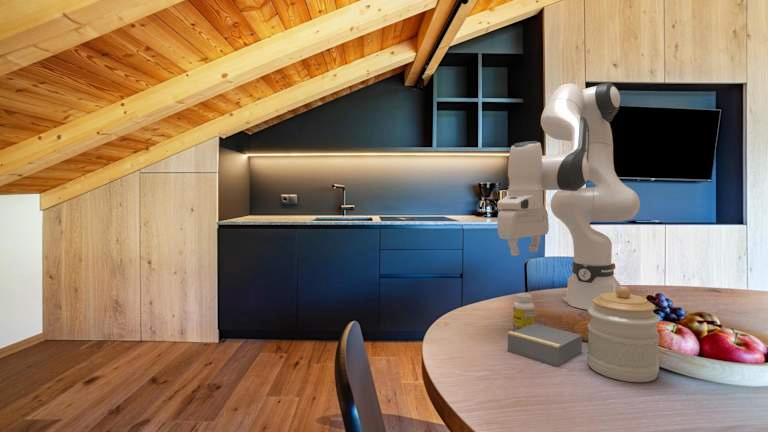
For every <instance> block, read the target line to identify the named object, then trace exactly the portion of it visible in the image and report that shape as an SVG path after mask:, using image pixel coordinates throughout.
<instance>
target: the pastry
mask: <svg viewBox="0 0 768 432" xmlns="http://www.w3.org/2000/svg"><path fill="white" fill-rule="evenodd" d="M589 323H590V320H587V319H586V320H585V321H582V322H578V323H576V325H575V326H574V327H573V328H572V331H571V333H575V334H580V335H582V341H583V342H588V324H589Z"/></svg>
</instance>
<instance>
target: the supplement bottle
mask: <svg viewBox="0 0 768 432" xmlns="http://www.w3.org/2000/svg"><path fill="white" fill-rule="evenodd" d="M515 298H516V301H515V302H514V303H513V330H514V331H516V330H519V329H521V328H524V327H526V326H528V325H531V324H533V323H535V317H536V316H535V315H536V314H535V310H536V307H535V304H534V303H533V295H532V294H530V293H525V292H524V293H517V294H516V296H515ZM535 324H536V323H535Z"/></svg>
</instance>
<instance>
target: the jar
mask: <svg viewBox="0 0 768 432" xmlns="http://www.w3.org/2000/svg"><path fill="white" fill-rule="evenodd" d="M592 301H593V303H594V306H593V307H591V308H589V309H588V310H587V314H589V316H590V317H589V318H590V323H589V324H588V341H587V342H588V343H587V352H586V354H587V356H586V360H587V363H588V367H590V369H592V370H593V371H594V372H595V373H598V374H600V375H602V376H605V377H606V378H610V379H613V380H617V381H623V382H629V383H646V382H647V383H648V382H652V381H654V380H656V379H657V378H658V373H659V371H660V363H659V347H660V346H659V339H660V337H661V335H660V332H658V327H657V326H658V324H659V323H660V322H661V317H660V316H658V315H657V314H656V313H655V312H654V311H655V309H656V305H655V304H654V303H651V302H650V300H648V299H647V298H646V297H643V296H640V295H636V294H631V291H630V288H629V287H628V286H624V285H621V286H620V287H618V288H617V289H616V293H603V294H601V295H600V296H598V297H595V298H594V299H593V300H592Z"/></svg>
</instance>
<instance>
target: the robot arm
mask: <svg viewBox="0 0 768 432" xmlns="http://www.w3.org/2000/svg"><path fill="white" fill-rule="evenodd" d="M620 106H621V95H620V92H619V90H618V88H617V87H616V86H615V84H613V83H611V82H608V83H599V84H597V85H595V86H591V87H587V88H584V89H583V88H581V86H579V85H578V84H575V83H565V84H564V83H563V84H561V85H560V86H558V87H557V88H556V89H555V90H554V91H553V93H552V94H551V95H550V97H549V99H548V100H547V102H546V104H545V106H544V109H543V111H542V113H541V117H540V126H541V128H542V130H543V131H544V133H545V134H547V136H549V137H550V138H552V139H555V140H557V141H558V140H559V141H567V142H570V151H568V152H565V153H562V154H551V155H543V151H542V144H541V142H540V141H536V140H533V141H532V140H531V141H530V140H529V141H523V142H516V143H514V144H513V145H511V147H510V150H509V156H508V164H507V170H508V171H507V177H508V179H509V181H508V182H509V183H508V184H509V185H508V187H507V188H508V189H507V195H506V196H504V197H503V198H501V199H500V200H498V201H497V203H496V204H497V205H496V206H497V207H496V208H497V209H498V210H499V211H498V213H497V234H498V237H499V239H502V240H507V244H508V245H509V249H510V255H511V256H513V257H514V256H520V248H519V247H518V242H519V239H523V238H530V239H531V243H530V245H529V246H528V249H529V252H530V253H537V252H538V250H539V245H540V242H541V237H542V236H545V235H547V234H548V233H549V230H550V229H549V228H550V225H549V214H548V210H547V209H546V206H545V205H544V202H543V201H544V199H543V198H544V196H543V195H544V191H556V192H555V193H553V195H552V197H551V200H550V209H551V212H552V214H553V215H554V216H555V218H557V219H558V220H559V221H560V222H562V224H564V225H565V227H566V228H567V229H568V231H569V233H570V235H571V238H572V244H573V246H572V247H573V261H572V264H571V273H572V274H571V275H570V276H569V277H568V278H567V289H566V296H563V297H562V301H563V302H566V303H567V304H568V305H569V306H571V307H574V308H578V309H582V310H587V311H588V309H589V308H591V307H593V306H594V303H593V301H592V300H593V299H594V298H595V297H598V296H600V295H601V294H603V293H616V289H617V288H618V287H620V286H622V285H621V283H619V281H618V280H617V279H616V277H615V272H614V271H615V270H616V263H612V256H613V255H612V251H613V248H612V247H613V244H612V241H611V238H610V237H609V236H607V235H606V234H604V233H602V232H600V231H597V230H596V229H594V228H593V227H592V226H591V224H590V223H592V222H622V221H627V220H632V219H634V217H635V216H636V215H637V214H638V212H639V210H640V208H641V201H640V197H639V195H638V194H637V193H636V192H635V190H633V189H632V188H630V187H628V186H627V185H625V183H623V182H622V180H620V178H619V177H618V175H617V173H616V171H615V165H614V143H613V141H614V140H613V134H612V133H613V131H612V128H611V124H610V122H612V121H613V119H614V117H615V115H616V114H617V113H618V111H619V109H620ZM588 181H590V182H592V183H593V184H594V185H595V186H593V187H584V186H585V185H586V184H587V183H588Z"/></svg>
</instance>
